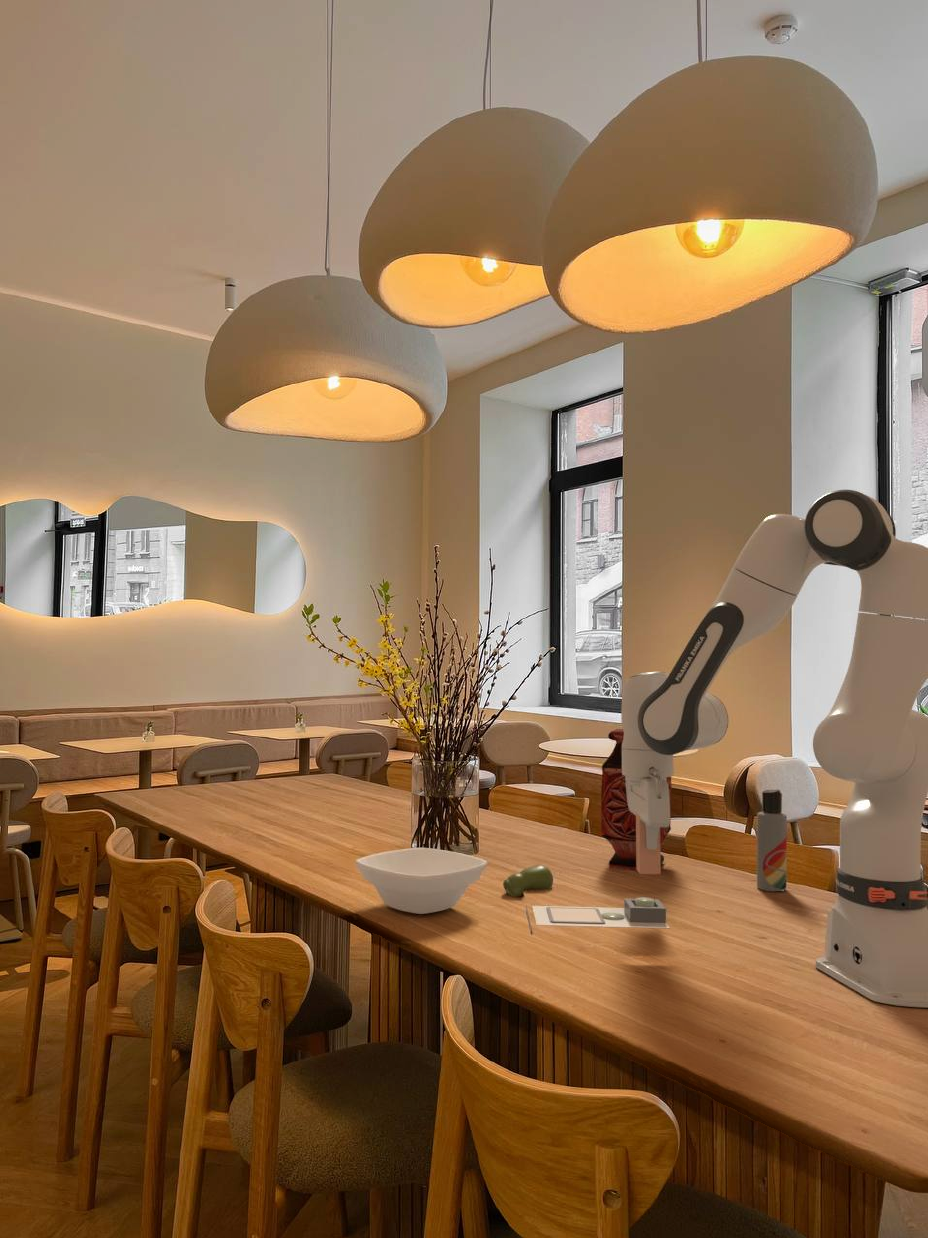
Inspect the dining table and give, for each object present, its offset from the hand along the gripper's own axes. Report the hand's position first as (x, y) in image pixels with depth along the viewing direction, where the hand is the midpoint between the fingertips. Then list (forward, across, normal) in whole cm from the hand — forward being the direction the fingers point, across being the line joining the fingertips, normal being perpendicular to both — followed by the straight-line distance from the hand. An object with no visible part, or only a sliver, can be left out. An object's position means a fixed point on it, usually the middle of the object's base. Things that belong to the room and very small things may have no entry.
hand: (648, 846), depth 157 cm
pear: (+13, +20, +20) cm, 31 cm away
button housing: (+12, +1, +1) cm, 12 cm away
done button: (+12, +1, +1) cm, 12 cm away
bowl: (+13, +8, +40) cm, 42 cm away
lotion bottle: (+14, +29, -30) cm, 44 cm away
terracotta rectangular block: (+4, 0, 0) cm, 4 cm away
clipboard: (+13, +1, +9) cm, 16 cm away
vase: (+13, +48, -6) cm, 50 cm away
